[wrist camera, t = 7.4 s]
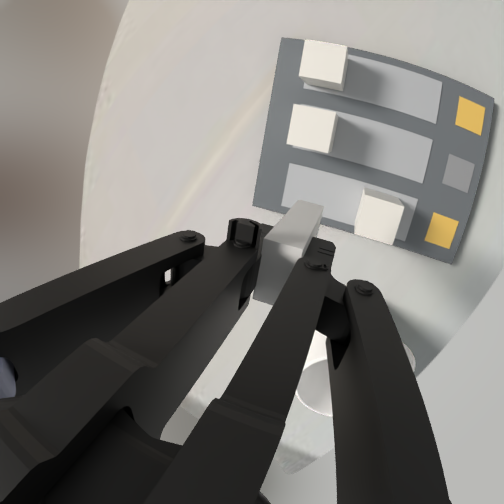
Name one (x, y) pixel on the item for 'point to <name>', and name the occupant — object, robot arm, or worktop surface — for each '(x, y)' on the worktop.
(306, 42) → the white cube
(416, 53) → the worktop surface
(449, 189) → the switch bank
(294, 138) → the cream cube block
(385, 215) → the off-white cube
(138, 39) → the worktop surface
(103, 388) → the robot arm
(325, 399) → the mug
